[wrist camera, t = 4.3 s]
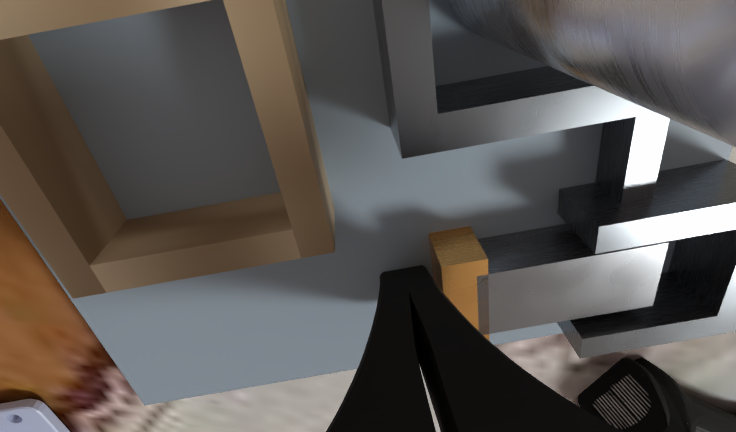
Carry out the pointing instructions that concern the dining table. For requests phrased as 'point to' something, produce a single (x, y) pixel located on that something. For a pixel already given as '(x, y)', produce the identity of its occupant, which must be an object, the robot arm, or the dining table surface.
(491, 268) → the key
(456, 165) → the board
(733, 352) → the dining table surface
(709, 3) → the frosted capsule tube
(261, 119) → the brown piece
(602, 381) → the electric trimmer
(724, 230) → the socket
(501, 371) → the robot arm
